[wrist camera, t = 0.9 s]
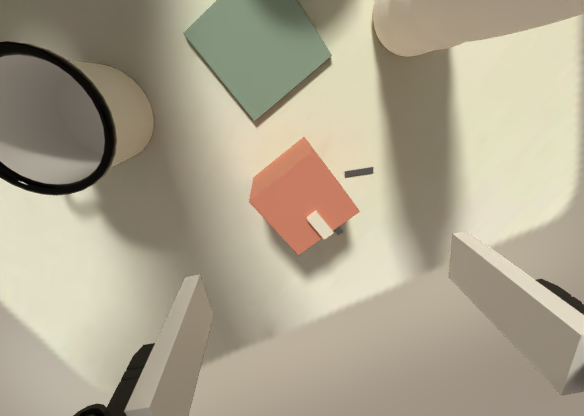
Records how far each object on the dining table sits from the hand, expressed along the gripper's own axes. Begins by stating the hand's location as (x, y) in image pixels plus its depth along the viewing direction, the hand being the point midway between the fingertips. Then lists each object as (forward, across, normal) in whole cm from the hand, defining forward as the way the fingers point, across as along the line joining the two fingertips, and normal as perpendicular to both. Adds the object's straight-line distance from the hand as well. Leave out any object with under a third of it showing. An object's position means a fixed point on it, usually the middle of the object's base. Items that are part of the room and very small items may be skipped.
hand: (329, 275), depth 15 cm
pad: (+16, -2, +13) cm, 21 cm away
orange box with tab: (+16, 0, 0) cm, 17 cm away
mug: (+17, -18, +9) cm, 26 cm away
